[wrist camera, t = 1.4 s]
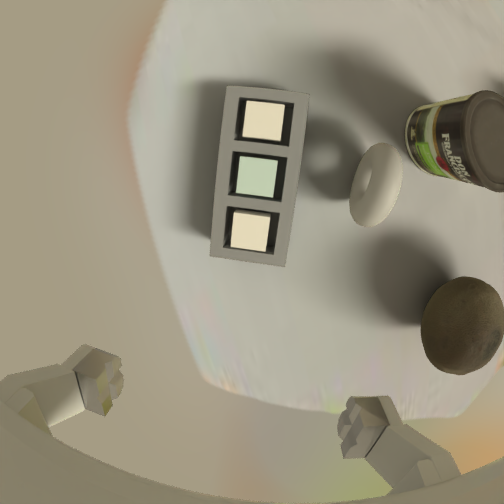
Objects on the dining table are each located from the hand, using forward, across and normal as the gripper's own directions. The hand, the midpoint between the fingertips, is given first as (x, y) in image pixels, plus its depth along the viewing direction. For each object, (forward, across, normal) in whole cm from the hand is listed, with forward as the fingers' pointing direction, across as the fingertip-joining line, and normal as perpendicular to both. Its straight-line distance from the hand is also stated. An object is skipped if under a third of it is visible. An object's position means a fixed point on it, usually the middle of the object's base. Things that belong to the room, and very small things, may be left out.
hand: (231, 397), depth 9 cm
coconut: (+30, -31, +5) cm, 43 cm away
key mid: (+25, +1, -8) cm, 26 cm away
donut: (+29, -12, -10) cm, 32 cm away
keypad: (+29, +1, -8) cm, 30 cm away
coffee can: (+28, -22, -18) cm, 39 cm away
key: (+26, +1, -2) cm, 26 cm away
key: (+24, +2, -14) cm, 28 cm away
